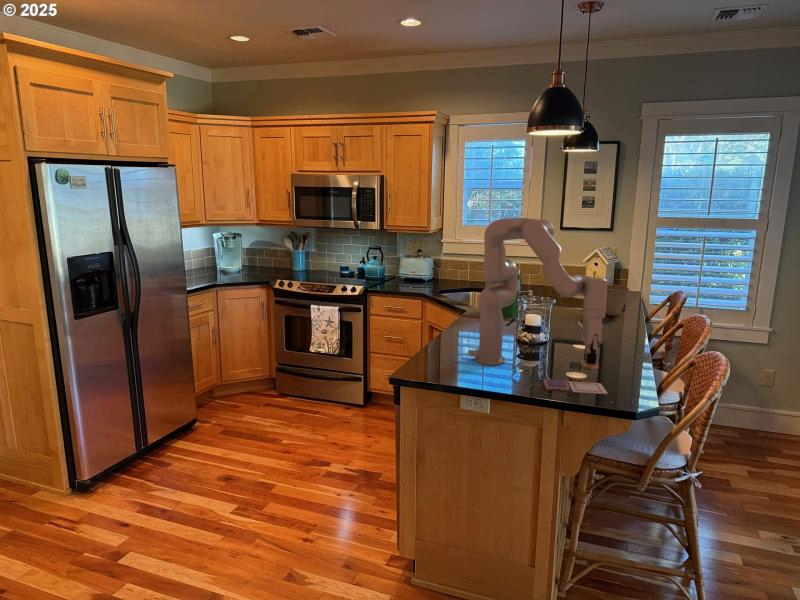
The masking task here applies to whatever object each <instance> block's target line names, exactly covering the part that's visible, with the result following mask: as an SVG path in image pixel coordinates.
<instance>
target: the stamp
mask: <svg viewBox="0 0 800 600" xmlns="http://www.w3.org/2000/svg"><path fill="white" fill-rule="evenodd" d="M591 345H593V343H591ZM588 346H589V345H588ZM588 346H586V349H585V350H586V357H585V360H584V359H581V362H580V367H581V368H582V370H583V371H597V372H598V371H599V370H598V369H599V363H598V362H597V361H596V364H587V363H586V362H587V353H588Z"/></svg>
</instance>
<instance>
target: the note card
mask: <svg viewBox="0 0 800 600" xmlns="http://www.w3.org/2000/svg"><path fill="white" fill-rule="evenodd" d="M568 383H569V384H568ZM567 384H568V386H569V385H570V386H569V388H570V387H571V388H570V389H572V390H571V391H573V392H572V393H578V392H579V393H581V394H583V393H584V394H601V395H608V391H607V389H605V387H604V385H603V384H602V383H599V382H585V381H583V382H581V381H567ZM579 393H578V394H579Z"/></svg>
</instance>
